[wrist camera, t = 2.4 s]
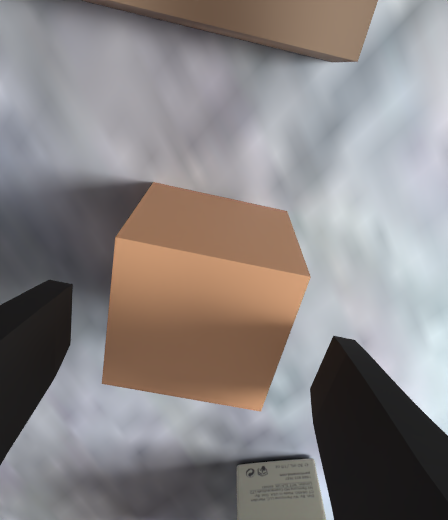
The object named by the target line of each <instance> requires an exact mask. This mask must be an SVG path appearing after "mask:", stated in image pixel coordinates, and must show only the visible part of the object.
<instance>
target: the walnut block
mask: <svg viewBox="0 0 448 520" xmlns="http://www.w3.org/2000/svg"><path fill="white" fill-rule="evenodd" d="M82 1H86V2H90V3H94V4H98V5H102V6H106V7H111V8H115V9H119V10H123V11H127V12H131V13H135V14H139V15H143V16H147V17H151V18H155V19H159V20H163V21H168V22H172V23H176V24H180V25H184V26H188V27H192V28H196V29H200V30H204V31H208V32H212V33H216V34H221V35H225V36H229V37H233V38H237V39H241V40H245V41H249V42H253V43H257V44H261V45H265V46H269V47H273V48H278V49H282V50H286V51H290V52H294V53H298V54H302V55H306V56H310V57H314V58H318V59H322V60H326V61H331V62H358V59H359V56H360V53H361V50H362V47H363V44H364V41H365V38H366V35H367V32H368V29H369V26H370V23H371V20H372V17H373V14H374V11H375V8H376V5H377V2H378V0H82Z"/></svg>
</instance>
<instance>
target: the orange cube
mask: <svg viewBox="0 0 448 520" xmlns="http://www.w3.org/2000/svg"><path fill="white" fill-rule="evenodd" d="M309 280H310V274H309V271H308V268H307V266H306V263H305V260H304V257H303V254H302V252H301V249H300V246H299V243H298V240H297V238H296V235H295V232H294V229H293V227H292V224H291V221H290V218H289V215H288V213H287V211H284V210H279V209H275V208H270V207H265V206H261V205H256V204H252V203H247V202H242V201H238V200H233V199H229V198H224V197H219V196H215V195H210V194H205V193H201V192H196V191H192V190H187V189H182V188H178V187H173V186H169V185H164V184H159V183H155V182H153V183H152V185H151V186H150V188H149V189H148V191H147V192H146V194H145V195H144V196H143V198H142V199H141V201H140V202H139V204H138V205H137V207H136V208H135V210H134V211H133V212H132V214H131V215H130V217H129V218H128V220H127V221H126V223H125V224H124V225H123V227H122V228H121V230H120V231H119V233H118V234H117V236H116V237H115V247H114V258H113V269H112V280H111V290H110V301H109V312H108V323H107V334H106V344H105V355H104V366H103V377H102V384H107V385H112V386H118V387H124V388H130V389H135V390H141V391H147V392H152V393H158V394H164V395H170V396H175V397H181V398H187V399H193V400H198V401H204V402H210V403H216V404H221V405H227V406H233V407H239V408H244V409H250V410H256V411H261V409H262V407H263V404H264V401H265V399H266V396H267V393H268V390H269V388H270V385H271V382H272V380H273V377H274V374H275V372H276V369H277V366H278V364H279V361H280V358H281V355H282V353H283V350H284V347H285V345H286V342H287V339H288V337H289V334H290V331H291V328H292V326H293V323H294V320H295V318H296V315H297V312H298V310H299V307H300V304H301V302H302V299H303V296H304V293H305V291H306V288H307V285H308V283H309Z"/></svg>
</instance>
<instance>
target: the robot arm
mask: <svg viewBox="0 0 448 520" xmlns="http://www.w3.org/2000/svg"><path fill="white" fill-rule="evenodd" d="M72 287H73V284H68V283H63V282H58V281H53V280H48V281H46V282H44V283H42V284H40V285H38V286H36V287H34V288H32V289H30V290H28V291H26V292H25V293H23V294H21V295H19V296H17V297H15V298H13V299H11V300H9V301H8V302H6V303H4V304H2V305H0V465H1V463H2V461H3V460H4V458H5V456H6V455H7V453H8V451H9V450H10V448H11V447H12V445H13V443H14V442H15V440H16V439H17V437H18V436H19V434H20V432H21V431H22V429H23V428H24V426H25V424H26V423H27V421H28V420H29V418H30V417H31V415H32V413H33V412H34V410H35V409H36V407H37V406H38V404H39V402H40V401H41V399H42V398H43V396H44V394H45V393H46V391H47V389H48V388H49V386H50V385H51V383H52V381H53V380H54V378H55V376H56V374H57V372H58V370H59V368H60V366H61V364H62V362H63V359H64V357H65V355H66V353H67V350H68V348H69V346H70V341H71V314H72ZM310 393H311V407H312V417H313V425H314V430H315V435H316V439H317V444H318V448H319V453H320V457H321V462H322V466H323V470H324V475H325V479H326V484H327V488H328V493H329V497H330V501H331V506H332V511H333V516H334V520H448V436H447V435H446V434H445V433H444V432H443V431H442V430H441V429H440V428H439V427H438V426H437V425H436V424H435V423H434V422H433V421H432V420H431V419H430V418H429V417H428V416H427V415H426V414H425V413H424V412H423V411H422V410H421V409H420V408H419V407H418V406H417V405H416V404H415V403H414V402H413V401H412V400H411V399H410V398H409V397H408V396H407V395H406V394H405V393H404V392H403V391H402V390H401V388H400V387H399V386H398V385H397V384H396V383H395V382H394V381H393V380H392V379H391V378H390V377H389V376H388V374H387V373H386V372H385V371H384V370H383V369H382V368H381V367H380V366H379V365H378V364H377V363H376V361H375V360H374V359H373V358H372V357H371V356H370V355H369V354H368V353H367V352H366V351H365V350H364V349H363V348H362V347H361V346H360V345H359V344H358V343H357V342H356V341H355V340H352V339H347V338H342V337H337V336H333V338H332V340H331V343H330V345H329V347H328V349H327V352H326V354H325V356H324V358H323V361H322V363H321V365H320V368H319V370H318V372H317V374H316V377H315V379H314V381H313V383H312V386H311V388H310Z"/></svg>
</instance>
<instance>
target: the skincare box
mask: <svg viewBox="0 0 448 520" xmlns="http://www.w3.org/2000/svg"><path fill="white" fill-rule="evenodd" d="M237 520H326V517H325V512H324V507H323V501H322V496H321V492H320V487H319V482H318V477H317V472H316V467H315V462H314V459H312V458H310V459H297V460H283V461H269V462H260V463H251V464H242V465H238V466H237Z"/></svg>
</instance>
